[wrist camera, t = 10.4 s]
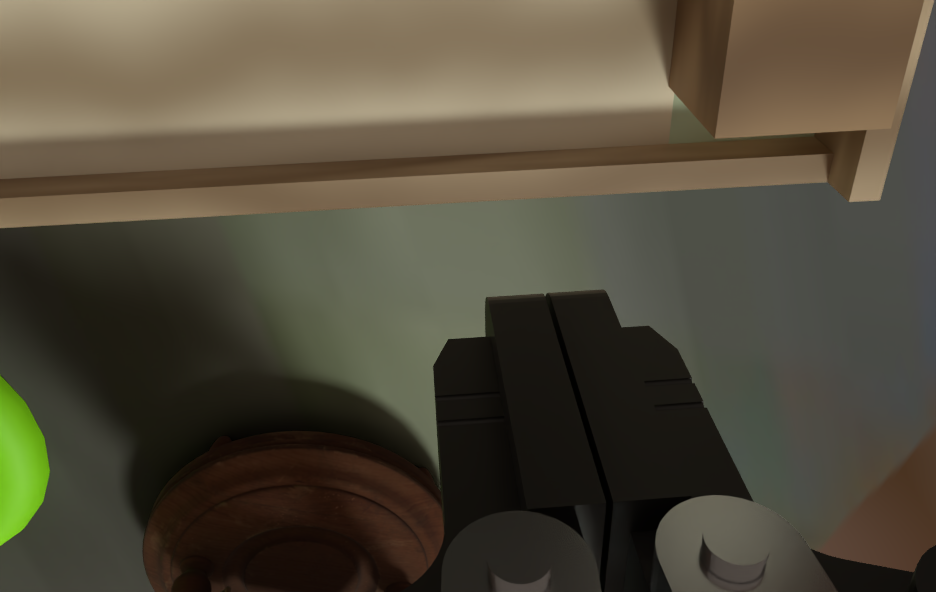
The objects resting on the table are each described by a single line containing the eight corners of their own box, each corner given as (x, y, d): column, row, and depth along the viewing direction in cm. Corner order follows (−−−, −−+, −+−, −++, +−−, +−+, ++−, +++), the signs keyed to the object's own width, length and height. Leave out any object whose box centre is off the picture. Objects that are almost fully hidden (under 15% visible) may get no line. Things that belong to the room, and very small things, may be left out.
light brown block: (686, -83, 24) (742, -56, 20) (854, -91, 24) (941, -66, 20) (668, 86, 26) (715, 138, 23) (819, 78, 27) (890, 128, 23)
